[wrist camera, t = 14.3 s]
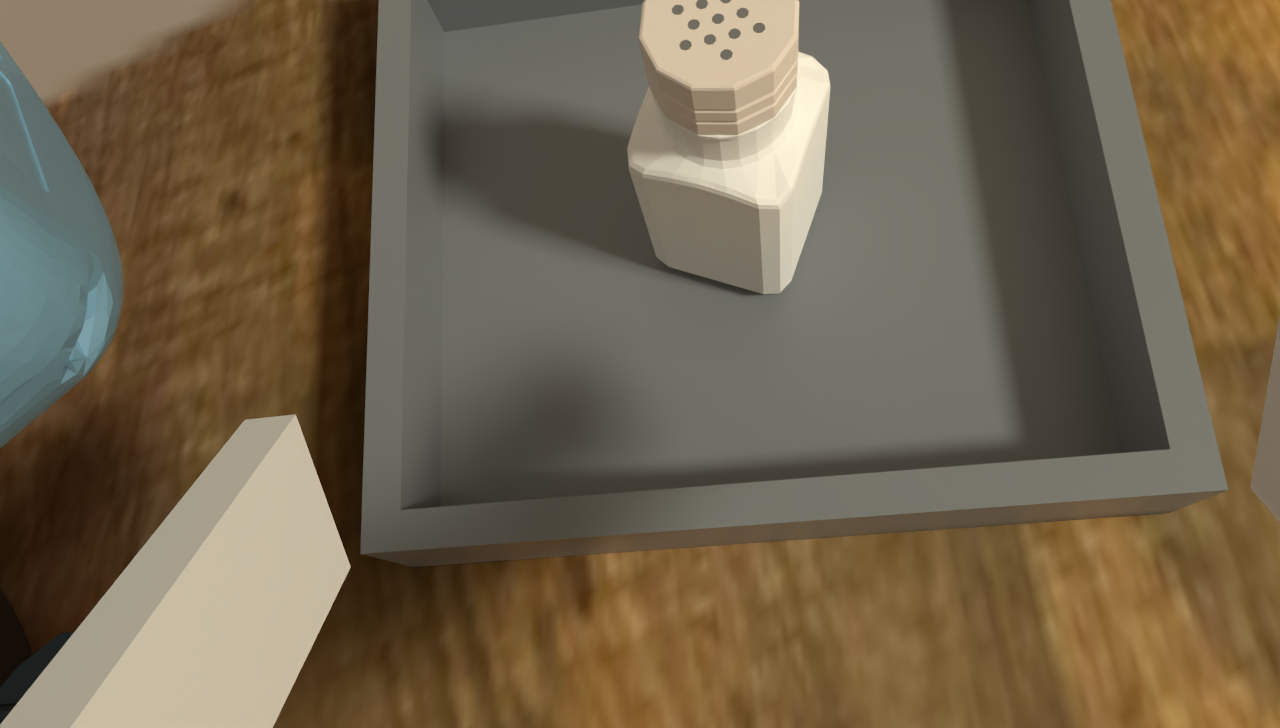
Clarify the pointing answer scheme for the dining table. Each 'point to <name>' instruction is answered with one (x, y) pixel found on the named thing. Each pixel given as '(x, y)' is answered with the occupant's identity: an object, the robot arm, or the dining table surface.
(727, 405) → the box
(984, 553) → the dining table surface
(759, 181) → the pepper shaker
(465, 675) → the dining table surface
